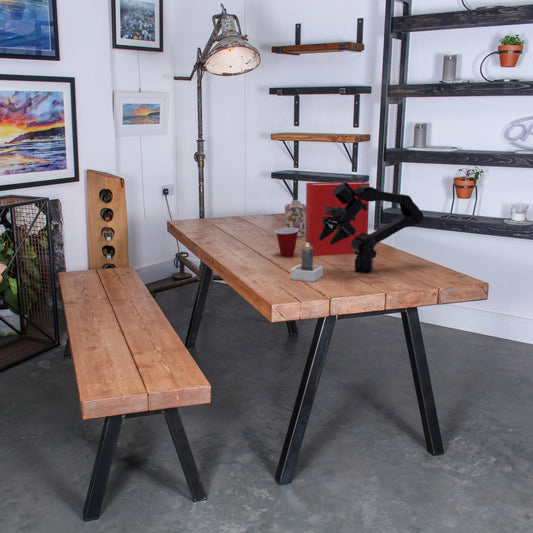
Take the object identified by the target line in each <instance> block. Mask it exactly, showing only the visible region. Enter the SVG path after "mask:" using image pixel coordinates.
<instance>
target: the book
mask: <svg viewBox="0 0 533 533" xmlns="http://www.w3.org/2000/svg"><path fill="white" fill-rule="evenodd" d="M343 182H344V181H331V182H330V181H327V182H326V181H325V182H324V181H323V182H306V184H305V186H306V187H305V192H306V193H305V205H306V237H305V243H310V244H313V257H318V256H319V257H323V256H339V255H341V256H342V255H355V253H354V250H352V248H351V243H352V240H353V239H354V238H355V236H358V235H360V234H361V233H363V232H364V233H367V234H369V233H368V232H369V208H370V207H369V205H370V204H369V203H370V201H364V200H361V201H362V202H363V203H366V204H367V211H365V210H362V209H361V210H360V212H359V213H358V214H357V215H356V216H355V219H356V220H355V221H351V223H350V224H351V225H352V226H353V227H354V228H355V229H356V233H355V234H354V235H353V236H350V237H348V238H345V239H343V240H341V241H339V242H336V243H334V244H332V245H331V244H330V241H331V239H332V238H333V237H334V235H335V234H336V232H337V229H335V230H334V232H333V233H332V234H330V235H329V236H327V237H326V238H324V239H323V240H321V241H320V240H319V237H320V234H321V232H322V229H323V223H322V218H323V217H324V216H329V217H332V216H331V215H329V214H325V213H324V212H325V210H326V207H327V206H331V207H334V208H335V207H336V206H338V207H341V208H342V209H343V208H344V207H345V206H346V205H347V204H342V203H341V202H340V201H339V200H338V199H337V198H336V197H335V196H334V195H333V191H334V189H335V188H336V187H338V186H339V185H341V184H343ZM346 182H347V183H348V184H349V186H350V187H351V188H352V189H357V188H358V187H359V186H361V185H364V186H369V187H370V183H369V182H364V181H363V180H361V181H360V180H359V181H346ZM355 197H356V196H355ZM356 199H358V198H357V197H356Z"/></svg>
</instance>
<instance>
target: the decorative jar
mask: <svg viewBox="0 0 533 533" xmlns="http://www.w3.org/2000/svg"><path fill="white" fill-rule="evenodd" d="M284 228H297V229H299V231H298V234H297V236H306V203H301V200H292V201H291V203H288V204H285V205H284Z"/></svg>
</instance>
